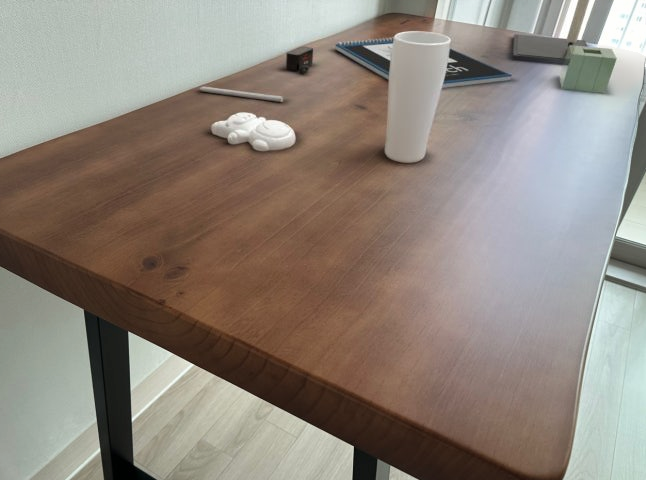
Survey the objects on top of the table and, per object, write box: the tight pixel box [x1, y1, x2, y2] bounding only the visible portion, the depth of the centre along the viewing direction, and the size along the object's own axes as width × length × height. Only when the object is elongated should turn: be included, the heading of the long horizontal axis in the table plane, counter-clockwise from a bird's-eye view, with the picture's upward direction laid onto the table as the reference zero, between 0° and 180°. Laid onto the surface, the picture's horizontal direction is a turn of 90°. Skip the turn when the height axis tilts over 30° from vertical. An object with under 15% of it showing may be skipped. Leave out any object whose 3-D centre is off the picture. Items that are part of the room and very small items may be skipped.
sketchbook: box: [334, 36, 513, 89], centre depth 113 cm, size 22×30×2 cm
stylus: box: [566, 0, 590, 47], centre depth 117 cm, size 2×2×14 cm
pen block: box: [559, 45, 618, 94], centre depth 102 cm, size 7×7×6 cm
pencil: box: [198, 86, 284, 103], centre depth 95 cm, size 1×1×15 cm
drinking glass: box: [384, 30, 452, 164], centre depth 72 cm, size 7×7×15 cm
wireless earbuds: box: [285, 45, 314, 74], centre depth 108 cm, size 5×7×3 cm, turn 149°
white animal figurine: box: [210, 111, 296, 152], centre depth 80 cm, size 9×12×3 cm
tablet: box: [511, 33, 589, 66], centre depth 122 cm, size 15×20×1 cm
